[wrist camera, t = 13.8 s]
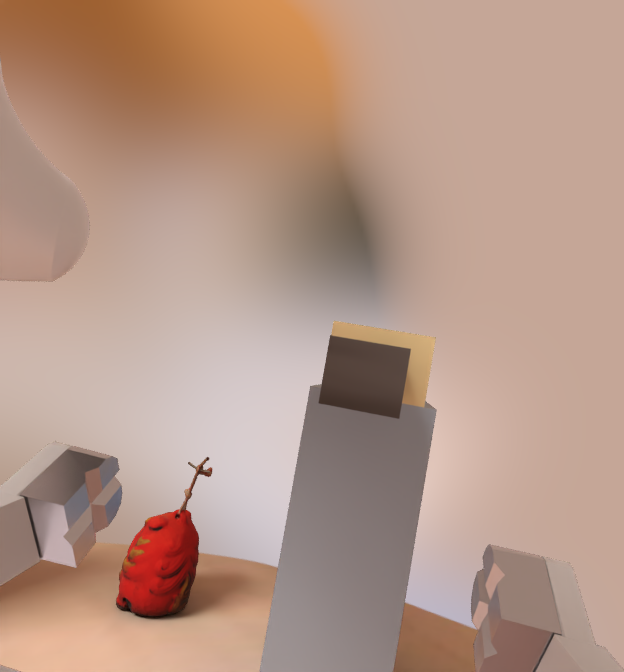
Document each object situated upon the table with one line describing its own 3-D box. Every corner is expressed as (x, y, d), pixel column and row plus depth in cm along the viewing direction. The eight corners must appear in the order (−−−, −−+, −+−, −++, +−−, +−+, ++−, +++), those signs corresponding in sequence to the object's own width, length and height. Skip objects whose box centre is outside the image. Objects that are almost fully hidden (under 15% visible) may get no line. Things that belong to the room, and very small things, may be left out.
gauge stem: (399, 418, 21) (411, 348, 21) (318, 403, 21) (330, 335, 21) (394, 396, 40) (400, 360, 41) (352, 388, 41) (358, 353, 41)
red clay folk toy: (150, 578, 53) (176, 439, 53) (205, 600, 50) (232, 454, 51) (97, 608, 46) (128, 447, 46) (159, 635, 43) (191, 465, 44)
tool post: (383, 728, 37) (448, 339, 38) (256, 689, 38) (322, 318, 40) (385, 641, 49) (434, 347, 50) (287, 615, 50) (337, 331, 52)
